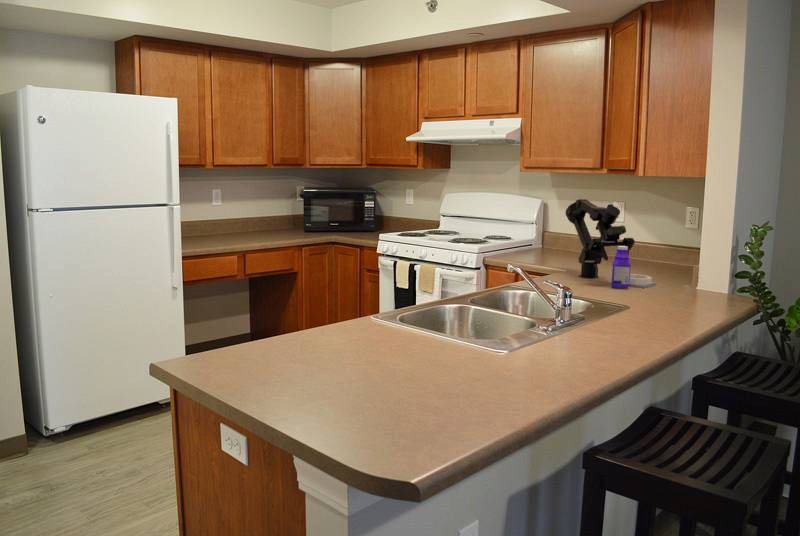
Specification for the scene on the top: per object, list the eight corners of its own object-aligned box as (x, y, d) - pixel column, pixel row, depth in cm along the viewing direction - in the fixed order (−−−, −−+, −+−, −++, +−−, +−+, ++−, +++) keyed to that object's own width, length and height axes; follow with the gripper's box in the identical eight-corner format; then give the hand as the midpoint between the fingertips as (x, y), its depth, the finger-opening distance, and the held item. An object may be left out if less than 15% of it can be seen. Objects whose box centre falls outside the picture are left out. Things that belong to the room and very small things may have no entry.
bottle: (627, 286, 281) (629, 245, 278) (630, 289, 275) (633, 247, 273) (609, 286, 282) (611, 245, 279) (612, 288, 276) (614, 246, 274)
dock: (613, 284, 287) (614, 276, 286) (627, 281, 296) (627, 273, 296) (643, 288, 278) (644, 280, 277) (656, 284, 287) (656, 276, 287)
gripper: (592, 219, 281) (603, 248, 272) (634, 218, 285) (646, 247, 275) (583, 236, 290) (594, 264, 281) (623, 235, 293) (635, 264, 284)
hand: (617, 259), depth 280 cm, fingers open, 9 cm apart
